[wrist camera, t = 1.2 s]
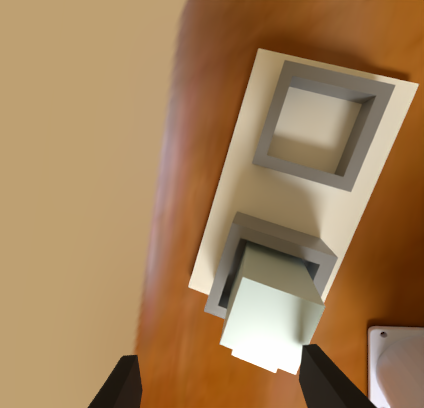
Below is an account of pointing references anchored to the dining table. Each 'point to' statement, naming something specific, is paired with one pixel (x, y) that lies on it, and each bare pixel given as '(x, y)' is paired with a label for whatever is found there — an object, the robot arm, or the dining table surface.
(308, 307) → the plug
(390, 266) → the dining table surface
